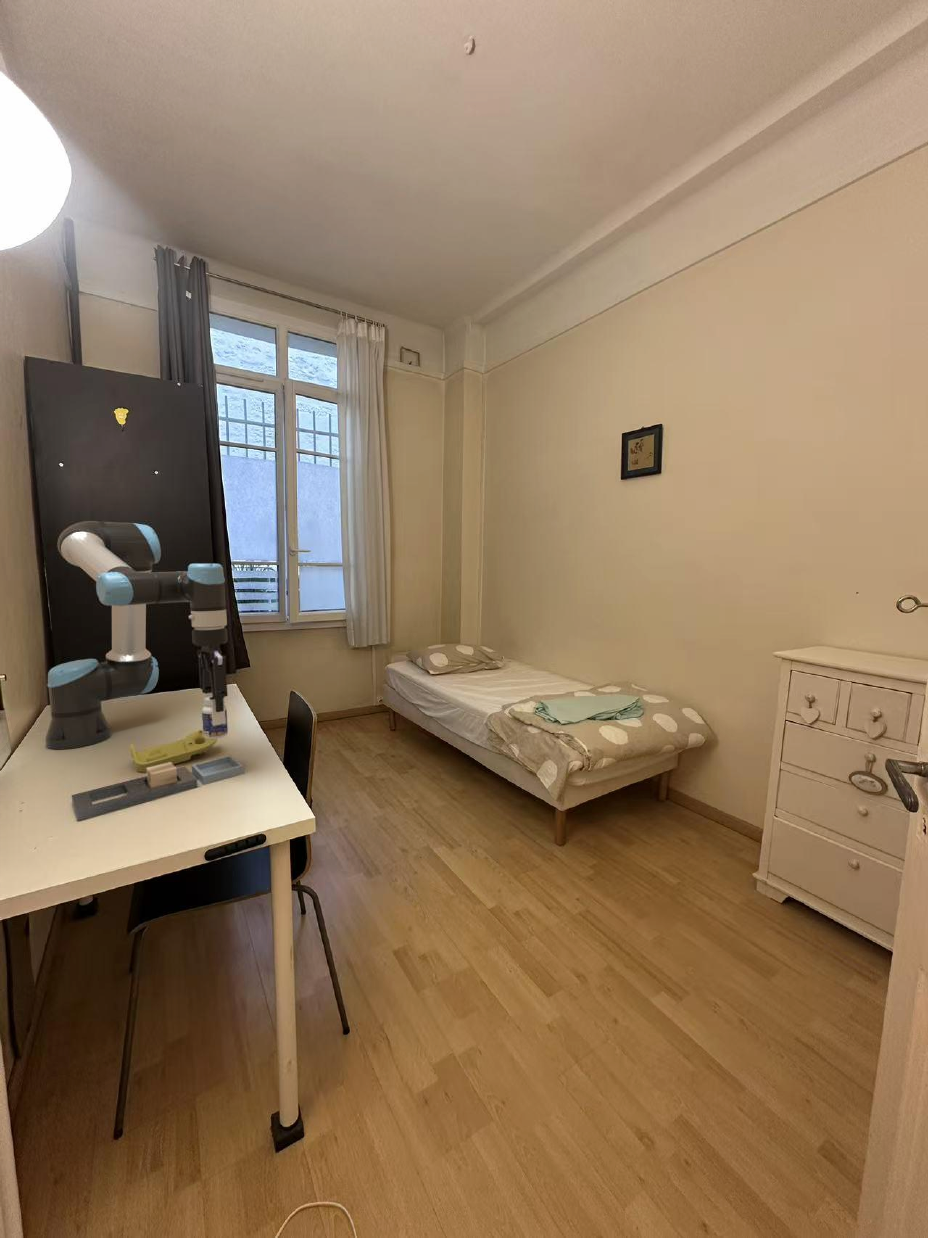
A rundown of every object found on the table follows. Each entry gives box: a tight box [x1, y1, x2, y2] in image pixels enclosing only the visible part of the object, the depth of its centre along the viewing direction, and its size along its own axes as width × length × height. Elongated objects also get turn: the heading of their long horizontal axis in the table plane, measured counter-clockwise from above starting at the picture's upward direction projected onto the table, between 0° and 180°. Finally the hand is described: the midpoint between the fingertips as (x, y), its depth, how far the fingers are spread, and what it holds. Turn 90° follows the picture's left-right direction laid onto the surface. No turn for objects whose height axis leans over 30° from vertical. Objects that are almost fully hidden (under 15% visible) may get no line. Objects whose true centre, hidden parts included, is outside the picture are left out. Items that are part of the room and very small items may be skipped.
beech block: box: [146, 762, 177, 789], centre depth 112 cm, size 5×5×5 cm
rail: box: [71, 766, 198, 822], centre depth 109 cm, size 10×22×2 cm, turn 134°
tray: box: [191, 754, 245, 786], centre depth 121 cm, size 9×9×2 cm
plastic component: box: [129, 729, 218, 773], centre depth 130 cm, size 20×7×10 cm
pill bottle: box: [201, 696, 229, 740], centre depth 119 cm, size 5×5×10 cm
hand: (215, 721), depth 119 cm, fingers closed on pill bottle, 5 cm apart
